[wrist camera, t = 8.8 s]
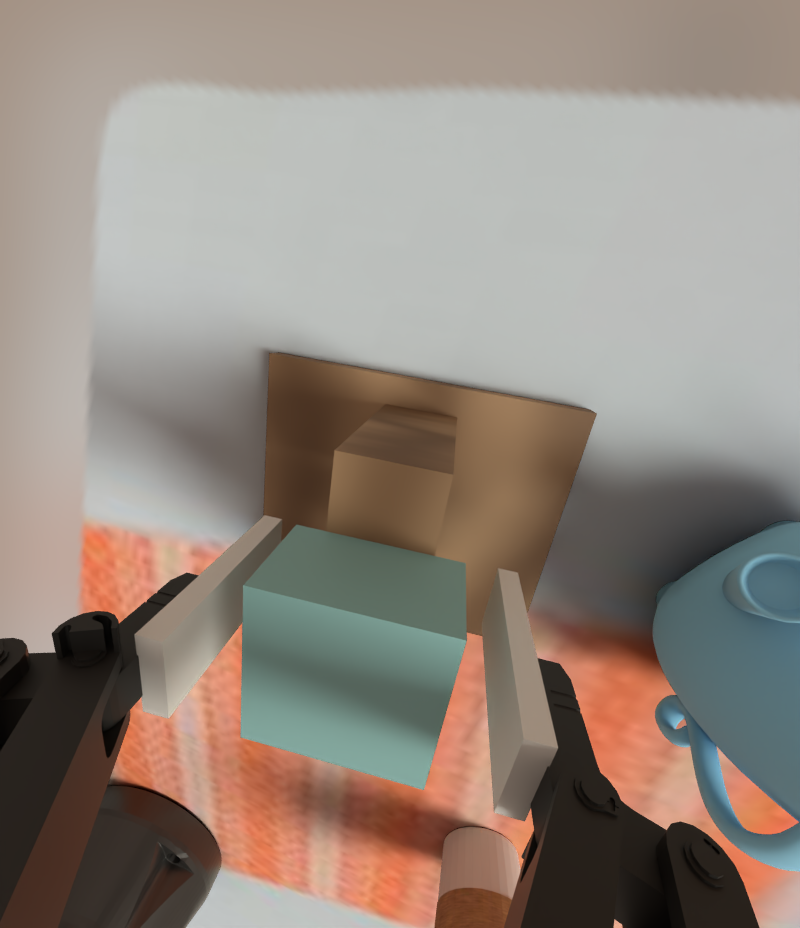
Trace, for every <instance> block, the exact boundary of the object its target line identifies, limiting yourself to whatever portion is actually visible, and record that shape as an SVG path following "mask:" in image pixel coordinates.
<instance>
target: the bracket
mask: <svg viewBox="0 0 800 928" xmlns="http://www.w3.org/2000/svg"><path fill="white" fill-rule="evenodd" d="M596 415H597V414H596V413H595V412H593V411H591V410H589V409H584V408H578V407H573V406H568V405H562V404H557V403H551V402H546V401H540V400H535V399H529V398H524V397H518V396H513V395H508V394H502V393H497V392H491V391H486V390H480V389H475V388H469V387H464V386H458V385H453V384H448V383H442V382H437V381H431V380H426V379H420V378H415V377H409V376H404V375H398V374H393V373H388V372H382V371H377V370H371V369H366V368H360V367H355V366H349V365H344V364H338V363H333V362H328V361H322V360H317V359H311V358H306V357H300V356H295V355H289V354H284V353H279V352H278V353H269V377H268V404H267V432H266V459H265V487H264V514H263V516H265V515H266V516H270V517H275V518H279V519H282V533H281V542H282V540H283V539H284V538H285V537H286V536H287V535H288V534H289V532H290V531H291V530H292V529H293V528H294V527H295V526H296V525H301V526H305V527H309V528H314V529H318V530H323V531H327V532H331V533H336V534H340V535H345V536H349V537H353V538H358V539H362V540H366V541H371V542H375V543H380V544H384V545H388V546H393V547H397V548H402V549H406V550H410V551H415V552H419V553H424V554H428V555H432V556H437V557H441V558H446V559H450V560H454V561H459V562H463V563H466V628H467V632H468V633H472V634H476V635H480V636H483V635H482V621H483V617H484V614H485V611H486V607H487V604H488V601H489V597H490V594H491V591H492V587H493V584H494V580H495V577H496V574H497V570H498V568H499V569H504V570H508V571H513V572H517V573H518V575H519V580H520V584H521V589H522V593H523V597H524V602H525V606H526V610H527V613H528V610H529V607H530V604H531V601H532V598H533V595H534V592H535V590H536V587H537V584H538V581H539V578H540V575H541V572H542V570H543V567H544V564H545V561H546V558H547V555H548V552H549V549H550V547H551V544H552V541H553V538H554V535H555V532H556V529H557V526H558V524H559V521H560V518H561V515H562V512H563V509H564V506H565V504H566V501H567V498H568V495H569V492H570V489H571V486H572V483H573V481H574V478H575V475H576V472H577V469H578V466H579V463H580V460H581V458H582V455H583V452H584V449H585V446H586V443H587V440H588V437H589V435H590V432H591V429H592V426H593V423H594V420H595V417H596Z"/></svg>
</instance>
